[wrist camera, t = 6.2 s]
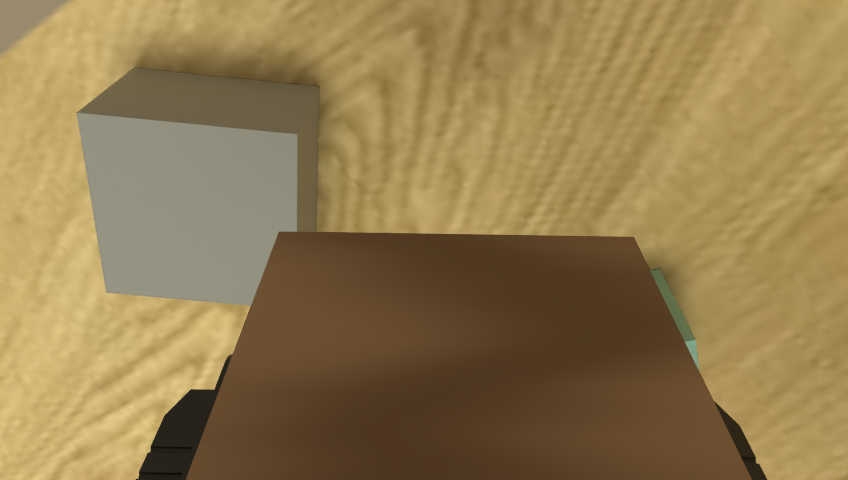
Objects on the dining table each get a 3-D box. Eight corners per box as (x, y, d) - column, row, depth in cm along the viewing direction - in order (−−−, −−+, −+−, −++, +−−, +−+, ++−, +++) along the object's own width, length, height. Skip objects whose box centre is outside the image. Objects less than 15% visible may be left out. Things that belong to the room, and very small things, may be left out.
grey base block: (320, 85, 27) (297, 134, 22) (316, 241, 30) (296, 309, 26) (135, 66, 26) (76, 112, 22) (153, 225, 30) (106, 292, 26)
